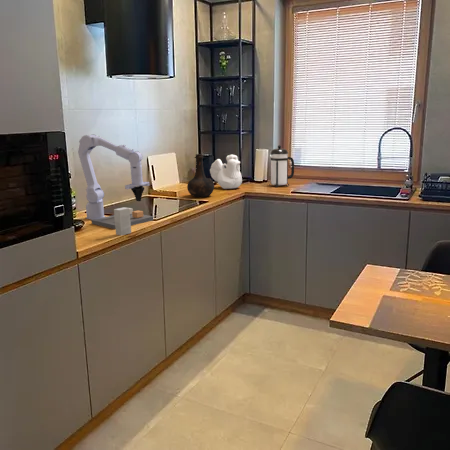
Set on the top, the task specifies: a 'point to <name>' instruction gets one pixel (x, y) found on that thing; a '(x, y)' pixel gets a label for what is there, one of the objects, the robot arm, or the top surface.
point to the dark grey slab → (110, 221)
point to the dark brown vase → (200, 180)
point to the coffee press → (280, 167)
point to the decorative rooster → (227, 172)
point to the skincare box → (122, 221)
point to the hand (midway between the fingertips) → (138, 201)
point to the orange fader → (137, 214)
